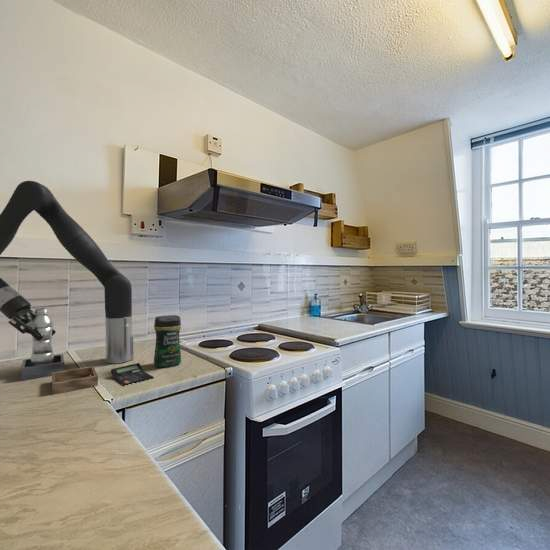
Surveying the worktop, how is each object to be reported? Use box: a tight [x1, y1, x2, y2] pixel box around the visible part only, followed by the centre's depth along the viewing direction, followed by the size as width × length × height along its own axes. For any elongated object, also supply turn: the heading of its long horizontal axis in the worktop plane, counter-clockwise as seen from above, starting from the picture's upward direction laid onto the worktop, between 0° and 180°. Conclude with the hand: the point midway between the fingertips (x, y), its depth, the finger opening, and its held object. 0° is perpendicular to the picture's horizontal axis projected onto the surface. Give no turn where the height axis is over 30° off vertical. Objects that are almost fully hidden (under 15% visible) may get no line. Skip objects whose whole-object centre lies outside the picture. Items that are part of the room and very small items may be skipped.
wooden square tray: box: [51, 366, 99, 395], centre depth 100 cm, size 12×12×3 cm
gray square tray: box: [20, 354, 66, 382], centre depth 110 cm, size 12×12×4 cm
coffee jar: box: [153, 314, 182, 368], centre depth 119 cm, size 10×8×19 cm
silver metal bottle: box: [30, 307, 55, 366], centre depth 110 cm, size 6×7×20 cm
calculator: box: [110, 362, 154, 387], centre depth 106 cm, size 9×12×3 cm
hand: (47, 336), depth 110 cm, fingers closed on silver metal bottle, 6 cm apart
